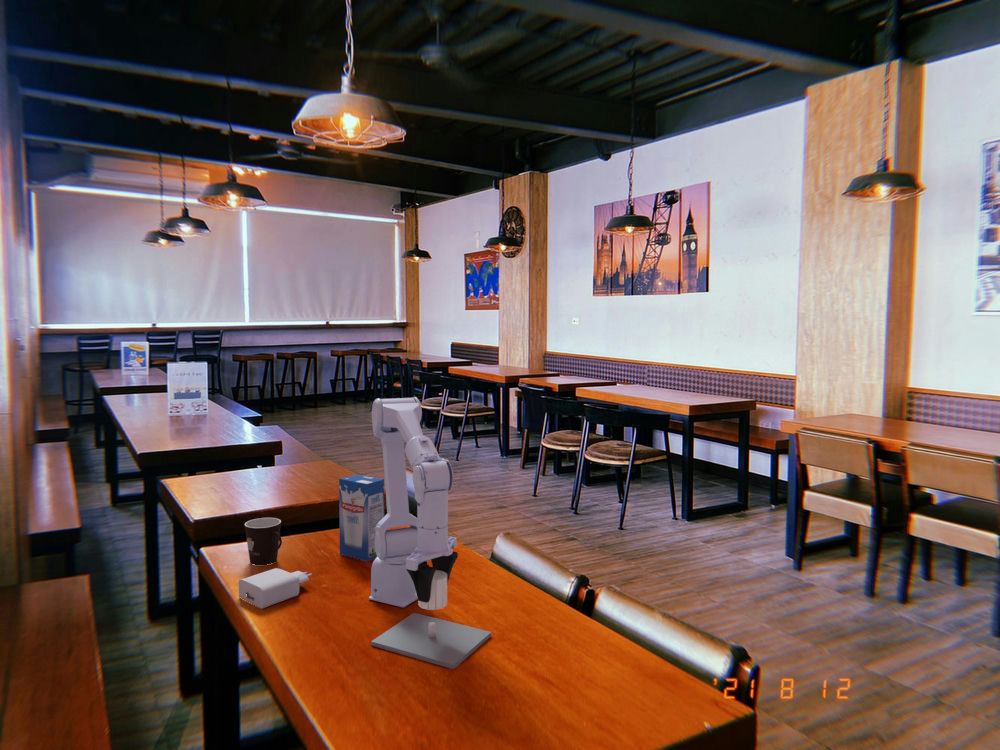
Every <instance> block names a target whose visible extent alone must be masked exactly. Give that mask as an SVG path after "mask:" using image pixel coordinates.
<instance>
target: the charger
mask: <svg viewBox="0 0 1000 750" xmlns="http://www.w3.org/2000/svg"><path fill="white" fill-rule="evenodd" d="M312 575H313V574H312V573H308V572H307V571H304V572H303V571H300V570H295V571H293V572H289V571H287V570H284V569H282V568H277V567H275V568H272V569H269V570H266V571H263V572H260V573H257V574H254V575H251V576H248V577H243V578H242V579H240V580H238V598H239V597H241V598H242V599H244V600H246V601H248V602H250V603H252V604H253V605H252V604H251V605H252V606H254V605H255V607H256V606H257V607H256V608H258V607H260V608H261V609H260V608H259V609H260V610H263V609H265V608H268V607H270V606H273V605H276V604H279V603H281V602H283V601H287V600H289V599H292V598H294V597H297V596H298V595H299V593H300V585H301V584H305V583H307V582H309V580H310V578H309V577H310V576H312ZM246 594H247V597H246ZM246 601H245V602H246ZM248 602H247V603H248ZM250 603H249V604H250Z"/></svg>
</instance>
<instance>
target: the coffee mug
mask: <svg viewBox="0 0 1000 750" xmlns="http://www.w3.org/2000/svg"><path fill="white" fill-rule="evenodd" d="M281 525H282V519H279V518H277V517H261V518H254V519H250V520H248V521H246V522H245V523H244V530H245V537H246V543H247V550H248V556H249V557H248V558H249V564H250V563H252V564H255V565H267V564H271V563H274V562H275V563H277V561H278V556H279V555H278V554H279V549H280V548H281V546H282V544H283V540H282V536H281ZM275 563H274V564H275ZM271 565H272V564H271ZM267 566H268V565H267Z"/></svg>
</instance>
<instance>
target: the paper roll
mask: <svg viewBox="0 0 1000 750" xmlns="http://www.w3.org/2000/svg"><path fill="white" fill-rule="evenodd" d="M417 602H418V603H417V605H418V606H419V608H420V609H424V610H428V611H430V610H431V611H432V610H433V611H435V610H440V609H444V608H445V607H446V606H447V605H448V585H447V573H445V572H443V571H440V570H436V571H435V573H434V576H433V580H432V584H431V595H430V600H429V602H427V603H426V602H422V601H417Z"/></svg>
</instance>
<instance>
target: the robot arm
mask: <svg viewBox="0 0 1000 750" xmlns="http://www.w3.org/2000/svg"><path fill="white" fill-rule="evenodd" d="M422 410H423V409H422V403H421V401H420V400H419V399H418V397H417V396H413V397H401V398H400V397H396V398H380V397H379V398H375V399H374V401H373V403H372V406H371V423H372V425H371V426H372V432H373V437H375V438H377V439H380V442H381V445H382V446H381V447H382V459H383V460H382V461H383V471H384V472H383V474H384V490H385V498H386V499H385V502H386V512H387V513H386V514H384V517H383V518H382V519H381V520H380V521H379V522H378V523H377V525H376V527H375V551H376V555H377V558H375V559H373V562H372V564H371V568H370V596H368V599H369V600H371V601H375V602H379V603H383V604H387V605H391V606H395V607H399V608H406V607H407V606H409V605H410V604H413V602H415V601H417V600H418V601H422V602H426V603H427V602H429V600H430V595H431V584H432V580H433V576H434V573H435V571H436V570H440V571H443V572H445V573H447V586H448V584H449V580H450V577H451V573H452V570H453V567H454V565H455V563H456V561H457V559H458V557H459V555H458V554H459V553H458V552H457V551H453V549H456V548H457V546H458V544H457V543H458V540H457V539H458V537H455V536H448V535H449V523H448V522H449V492H450V491H451V490H452V489H453V486H454V470H453V468H452V464H451V461H449V459H445V457H440V455H439V452H438V450H437V448H436V446H435V445H434V443H433V441H432V439H431V438H430V437H428V436H426V435H424V432H423V430H422V427H421V420H422V416H423V415H422V414H423V412H422ZM405 443H406V445H405ZM405 455H406V456H405ZM405 458H406V459H407V460H408V462H409V464H410V467H411V469H412V471H413V472H412V482H413V483H412V484H413V487H414V488H413V489H414V499H415V500H414V501H416V502H417V503H416V505H417V508H416V509H417V511H416V512H417V513H416V515H417V517H416V516H414V515H413V514H412V513H410V509H409V508H410V505H409V496H408V493H409V492H408V483H407V482H408V480H407V469H406V459H405ZM406 526H409V527H406ZM397 527H398V528H397ZM399 527H401V528H399ZM391 528H393V529H391ZM429 561H430V562H431V565H432V566H430V564H429V563H428V562H429ZM418 601H417V602H418Z"/></svg>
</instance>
